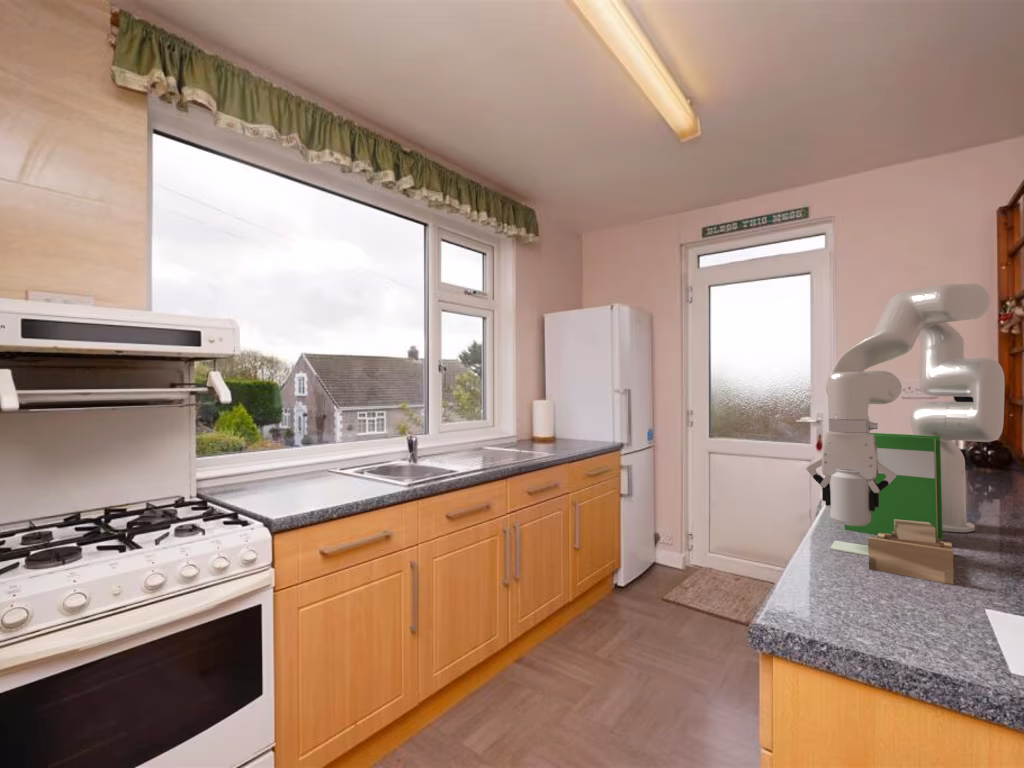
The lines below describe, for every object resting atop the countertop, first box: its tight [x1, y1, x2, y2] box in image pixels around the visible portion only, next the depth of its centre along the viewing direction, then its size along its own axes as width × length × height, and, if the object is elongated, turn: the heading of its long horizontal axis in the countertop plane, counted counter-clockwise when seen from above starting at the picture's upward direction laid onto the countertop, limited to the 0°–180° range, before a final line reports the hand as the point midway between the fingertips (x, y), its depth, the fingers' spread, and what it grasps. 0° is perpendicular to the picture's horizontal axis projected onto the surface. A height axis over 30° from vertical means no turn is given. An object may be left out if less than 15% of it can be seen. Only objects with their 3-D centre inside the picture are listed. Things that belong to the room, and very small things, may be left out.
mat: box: [829, 540, 869, 557], centre depth 109 cm, size 7×7×1 cm
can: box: [829, 469, 871, 526], centre depth 109 cm, size 8×8×12 cm
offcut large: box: [890, 532, 941, 548], centre depth 104 cm, size 6×8×4 cm
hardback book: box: [844, 432, 944, 540], centre depth 120 cm, size 18×7×24 cm, turn 41°
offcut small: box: [894, 519, 936, 543], centre depth 104 cm, size 5×6×3 cm
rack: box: [867, 533, 955, 586], centre depth 101 cm, size 21×12×6 cm, turn 139°
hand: (850, 506), depth 109 cm, fingers closed on can, 7 cm apart
